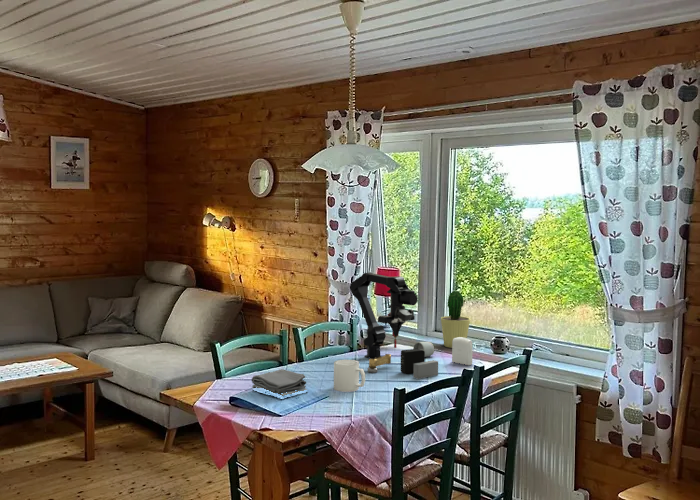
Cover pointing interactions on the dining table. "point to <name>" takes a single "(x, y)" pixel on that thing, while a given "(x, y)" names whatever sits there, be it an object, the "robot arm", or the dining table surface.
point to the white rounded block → (462, 351)
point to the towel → (280, 382)
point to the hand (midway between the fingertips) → (396, 336)
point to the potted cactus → (454, 320)
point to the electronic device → (411, 359)
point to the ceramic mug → (425, 347)
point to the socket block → (425, 369)
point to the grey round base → (372, 370)
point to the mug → (347, 376)
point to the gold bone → (380, 361)
